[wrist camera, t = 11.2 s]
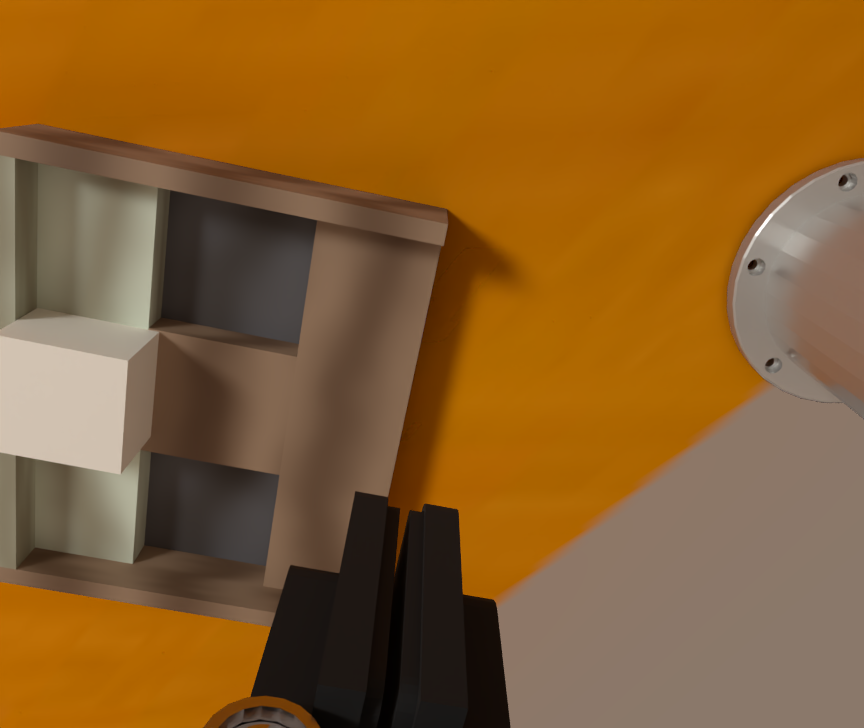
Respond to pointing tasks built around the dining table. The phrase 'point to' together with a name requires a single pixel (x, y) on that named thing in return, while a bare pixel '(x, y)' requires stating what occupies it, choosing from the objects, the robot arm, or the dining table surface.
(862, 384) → the robot arm
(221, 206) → the box
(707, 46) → the dining table surface
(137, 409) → the cream block
